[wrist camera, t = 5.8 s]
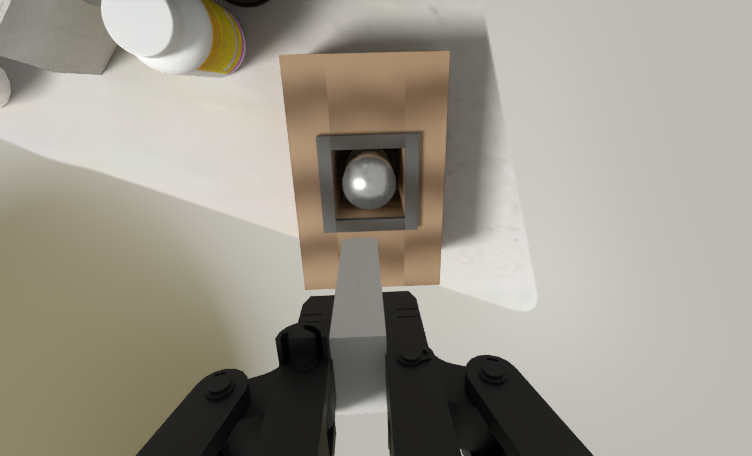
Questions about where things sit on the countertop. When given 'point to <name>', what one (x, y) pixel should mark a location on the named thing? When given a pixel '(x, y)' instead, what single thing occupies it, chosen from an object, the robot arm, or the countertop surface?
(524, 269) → the countertop surface
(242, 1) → the aerosol can
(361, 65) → the socket block
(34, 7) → the grey boxy piece
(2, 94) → the white cup
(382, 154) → the peg
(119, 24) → the supplement bottle
